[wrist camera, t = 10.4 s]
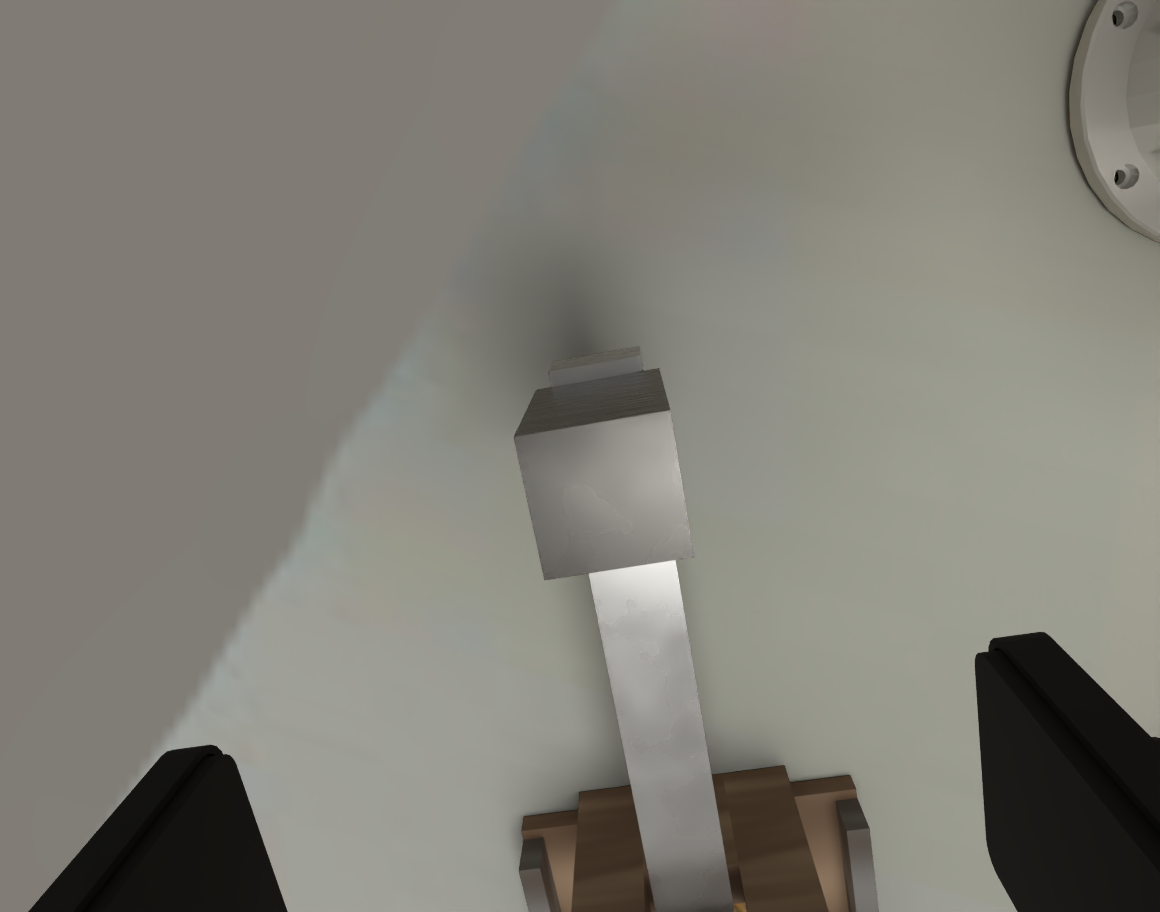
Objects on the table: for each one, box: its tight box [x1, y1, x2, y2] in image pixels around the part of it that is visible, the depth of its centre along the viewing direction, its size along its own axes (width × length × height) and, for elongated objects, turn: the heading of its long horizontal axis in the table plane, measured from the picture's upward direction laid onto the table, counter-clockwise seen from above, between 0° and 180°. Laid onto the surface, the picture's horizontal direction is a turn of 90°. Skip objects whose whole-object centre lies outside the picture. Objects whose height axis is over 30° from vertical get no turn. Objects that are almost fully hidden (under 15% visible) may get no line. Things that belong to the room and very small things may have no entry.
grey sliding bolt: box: [514, 346, 735, 912], centre depth 27 cm, size 22×4×8 cm, turn 11°
